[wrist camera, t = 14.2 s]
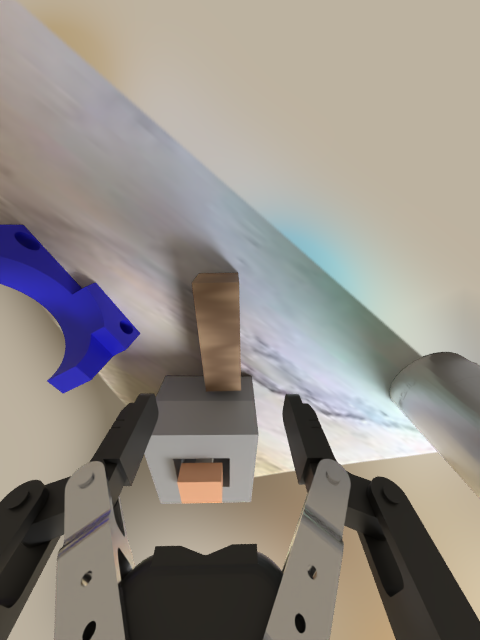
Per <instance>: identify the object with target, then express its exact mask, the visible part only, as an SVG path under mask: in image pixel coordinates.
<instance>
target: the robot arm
mask: <svg viewBox="0 0 480 640" xmlns="http://www.w3.org/2000/svg"><path fill="white" fill-rule="evenodd" d="M389 394H390V398H391V400H392V401H393V402H394V404H395V405H396V406H397V407H398V408H399V409H400V410H401V411H402V412H403V414H404V415H405V416H406V417H407V418H408V419H409V420H410V421H411V422H412V424H413V425H414V426H415V427H416V428H417V429H418V430H419V432H420V433H421V434H422V435H423V436H424V437H425V438H426V439H427V440H428V442H429V443H430V444H431V445H432V446H433V447H434V448H435V449H436V451H437V452H438V453H439V454H440V455H441V456H442V457H443V458H444V459H445V461H446V462H447V463H448V464H449V465H450V466H451V467H452V468H453V469H454V471H455V472H456V473H457V474H458V475H459V476H460V477H461V478H462V479H463V481H464V482H465V483H466V484H467V485H468V486H469V487H470V488H471V490H472V491H473V492H474V493H475V494H476V495H477V496H478V497H479V498H480V365H478V364H477V363H474V362H471V361H469V360H467V359H466V358H464V357H462V356H461V355H459V354H456V353H452V352H437V353H432V354H429V355H425V356H423V358H421V359H418V360H416V361H414V362H413V363H411V364H409V365H408V366H407V367H405V368H404V369H403V370H402V371H401V372H400V373H399V374H398V375H397V376H396V377H395V379H394V380H393V382H392V384H391V387H390V393H389ZM158 414H159V411H158V406H157V402H156V398H155V394H143V393H142V394H139V396H138V397H137V399H136V401H135V403H129V404H128V405H127V406H126V407H125V408H124V409H123V410H122V411H121V412H120V414H119V416H118V417H117V419H116V421H115V422H114V423H113V425H112V427H111V429H110V430H109V432H108V433H107V435H106V437H105V438H104V440H103V441H102V443H101V445H100V446H99V448H98V450H97V451H96V453H95V454H94V456H93V458H92V459H91V460H90V462H89V463H87V464H85V465H83V466H82V467H80V468H79V469H78V470H77V471H75V472H74V474H73V475H72V476H70V477H67V478H65V479H62V480H59V481H56V482H53V483H50V484H47V485H44V484H43V483H42V482H41V481H39V480H32V481H28V482H26V483H23V484H22V485H20V486H18V487H17V488H15V489H14V490H13V491H11V492H10V493H9V494H8V495H7V496H6V497H5V498H4V499H3V500H2V501H1V502H0V640H7V638H8V636H9V634H10V632H11V630H12V628H13V626H14V625H15V623H16V621H17V619H18V617H19V615H20V613H21V611H22V609H23V607H24V605H25V603H26V601H27V600H28V597H29V596H30V594H31V592H32V590H33V588H34V586H35V584H36V582H37V580H38V578H39V576H40V575H41V573H42V571H43V569H44V567H45V565H46V563H47V561H48V559H49V557H50V555H51V553H52V551H53V550H54V547H55V546H56V544H57V542H58V540H59V538H60V536H61V535H64V545H63V547H62V548H61V549H60V550H59V552H58V556H57V569H56V570H57V571H56V601H55V629H54V640H330V634H331V627H332V621H333V615H334V608H335V601H336V595H337V589H338V582H339V576H340V569H341V563H342V556H343V545H344V544H343V541H342V535H343V529H344V526H347V527H349V528H352V529H354V530H356V531H357V532H358V535H359V538H360V541H361V543H362V546H363V549H364V552H365V554H366V557H367V560H368V563H369V566H370V569H371V571H372V574H373V577H374V580H375V583H376V585H377V588H378V591H379V594H380V597H381V599H382V602H383V605H384V608H385V610H386V613H387V616H388V619H389V622H390V624H391V627H392V630H393V633H394V636H395V638H396V640H480V621H479V619H478V618H477V616H476V614H475V612H474V611H473V609H472V607H471V606H470V604H469V602H468V600H467V599H466V597H465V595H464V594H463V592H462V590H461V588H460V587H459V585H458V583H457V582H456V580H455V579H454V577H453V575H452V573H451V571H450V570H449V568H448V566H447V565H446V563H445V561H444V559H443V558H442V556H441V554H440V553H439V551H438V549H437V547H436V546H435V544H434V542H433V541H432V539H431V537H430V536H429V534H428V532H427V530H426V529H425V527H424V525H423V524H422V522H421V520H420V518H419V517H418V515H417V513H416V512H415V510H414V508H413V507H412V505H411V503H410V501H409V500H408V498H407V496H406V495H405V493H404V492H403V491H402V490H401V489H400V487H398V486H397V485H396V484H395V483H394V482H392V481H390V480H389V479H387V478H384V477H375V478H373V480H372V481H369V480H367V479H364V478H361V477H358V476H355V475H353V474H351V473H349V472H347V471H346V470H345V469H344V468H343V467H342V466H341V465H340V464H339V463H338V462H337V461H336V459H335V457H334V455H333V453H332V450H331V448H330V446H329V443H328V441H327V439H326V436H325V434H324V432H323V429H322V428H321V425H320V422H319V421H318V418H317V415H316V413H315V411H314V410H313V409H312V407H311V406H310V405H309V404H303V403H302V401H301V398H300V396H299V395H298V394H286V396H285V401H284V406H283V422H284V426H285V430H286V434H287V438H288V443H289V447H290V451H291V455H292V459H293V463H294V467H295V471H296V475H297V479H298V483H299V484H305V485H306V489H307V496H306V500H305V502H304V506H303V509H302V512H301V515H300V518H299V521H298V524H297V527H296V531H295V533H294V536H293V539H292V542H291V545H290V548H289V551H288V554H287V557H286V560H285V563H284V566H283V569H282V571H281V570H280V568H279V567H278V566H277V565H276V564H275V563H274V562H273V561H272V560H271V559H270V558H268V557H267V556H265V555H263V554H262V553H260V552H257V544H236V545H230V546H228V547H225V548H223V549H221V550H218V551H216V552H213V553H211V554H209V555H202V554H200V553H197V552H195V551H192V550H190V549H187V548H185V547H182V546H156V547H155V551H154V555H152V556H150V557H149V558H147V559H145V560H143V561H142V562H141V563H139V564H138V565H137V566H136V567H135V564H134V559H133V556H132V552H131V548H130V545H129V542H128V538H127V533H126V527H125V522H124V517H123V512H122V506H121V501H120V496H119V495H120V493H121V490H122V488H123V486H132V483H133V481H134V478H135V476H136V473H137V471H138V468H139V465H140V463H141V460H142V458H143V455H144V453H145V450H146V448H147V445H148V443H149V440H150V438H151V435H152V433H153V430H154V428H155V425H156V423H157V420H158Z"/></svg>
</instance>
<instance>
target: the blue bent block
mask: <svg viewBox="0 0 480 640" xmlns="http://www.w3.org/2000/svg"><path fill="white" fill-rule="evenodd" d="M0 284H3V285H5V286H8V287H11V288H13V289H16V290H18V291H20V292H22V293H24V294H26V295H28V296H29V297H31V298H33V299H35V300H36V301H37V302H39V303H40V304H41V305H42V306H44V307H45V308H46V309H47V310H48V311H49V312H50V313H51V314H52V315H53V316H54V317H55V319H56V320H57V321H58V323H59V325H60V326H61V329H62V331H63V334H64V337H65V343H66V344H65V345H66V348H65V355H64V358H63V361H62V363H61V365H60V367H59V368H58V370H57V371H56V372H55V373H54V375H53V376H52V377H51V378H50V379H49V380H47V381H48V382H49V383H50V384H52V385H53V386H54V387H55V388H57V389H58V390H59V391H61V392H62V393H65V392H67V391H69V390H71V389H73V388H75V387H78V386H79V385H81V384H84V383H86V382H88V381H90V380H92V379H93V377H94V376H95V375H96V374H97V373H98V372H99V371H100V370H101V369H102V368H103V367H104V366H105V365H106V363H107V362H108V361H109V360H110V359H111V358H112V357H113V356H114V355H116V354H118V353H120V352H122V351H124V350H126V349H127V348H128V347H129V346H130V345H131V344H132V342H133V341H134V340H135V339H136V338H137V337H138V336H139V334H140V333H139V331H138V330H137V329H136V328H135V327H134V326H133V325H132V323H131V322H130V321H129V320H128V319H127V318H126V317H125V315H124V314H123V313H122V312H121V311H120V310H119V309H118V307H117V306H116V305H115V304H114V303H113V302H112V301H111V299H110V298H109V297H108V296H107V295H106V294H105V293H104V291H103V290H102V289H101V288H100V287H99V286H98V285H97V283H93V284H91V285H88V286H86V287H84V288H83V289H82V288H81V287H80V286H79V285H78V284H77V283H76V281H75V280H74V279H73V278H72V277H71V276H70V275H69V274H68V273H67V272H66V271H65V269H64V268H63V267H62V266H61V265H60V264H59V263H58V262H57V261H56V260H55V259H54V258H53V256H52V255H51V254H50V253H49V252H48V251H47V250H46V249H45V248H44V247H43V246H42V245H41V243H40V242H39V241H38V240H37V239H36V238H35V237H34V236H33V235H32V234H31V233H30V232H29V230H28V229H27V228H26V227H25V226H24V225H0Z"/></svg>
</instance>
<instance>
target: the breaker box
mask: <svg viewBox="0 0 480 640" xmlns="http://www.w3.org/2000/svg"><path fill="white" fill-rule="evenodd" d="M156 402H157V406H158V411H159V414H158V420H157V423H156V425H155V428H154V430H153V433H152V435H151V438H150V440H149V443H148V445H147V448H146V450H145V453H144V454H145V457H146V460H147V463H148V466H149V469H150V472H151V475H152V478H153V481H154V484H155V487H156V490H157V493H158V497H159V500H160V502H161V503H162V504H170V503H182V502H181V497H180V493H179V489H178V484H177V481H178V476H179V472H180V467H181V463H195V462H196V459H198V458H213V463H222V467H223V492H222V502H251V497H252V488H253V478H254V470H255V461H256V452H257V443H258V427H257V418H256V409H255V400H254V391H253V383H252V376H241V391H211V392H206V389H205V381H204V376H165V378H164V381H163V383H162V385H161V387H160V389H159V392H158V394H157V396H156Z"/></svg>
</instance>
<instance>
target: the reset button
mask: <svg viewBox="0 0 480 640" xmlns="http://www.w3.org/2000/svg"><path fill="white" fill-rule="evenodd" d="M177 484H178V489H179V493H180V497H181V502H182V503H222V492H223V467H222V463H213V458H198V459H196V462H195V463H181V467H180V472H179V476H178V481H177Z"/></svg>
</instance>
